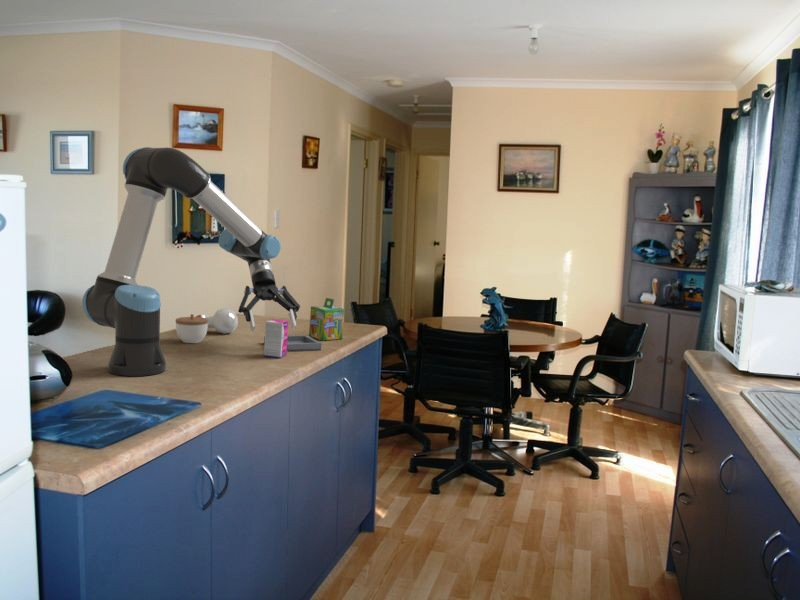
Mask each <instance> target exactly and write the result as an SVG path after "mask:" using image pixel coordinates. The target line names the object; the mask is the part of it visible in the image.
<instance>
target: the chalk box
mask: <svg viewBox="0 0 800 600" xmlns="http://www.w3.org/2000/svg"><path fill="white" fill-rule="evenodd" d="M328 302H329V303H330V304H329V305H328ZM334 302H335V300H334V299H333V298H328V297H326V298H325V300H324V304H323V305H317V306H316V305H315V306H312V305H311V306H310V313H309V315H310V316H309V317H310V318H309V331H308V336H309V337H311V338H313V339H315V340H318V339H319V341H321V340H322V342H325V340H327V341H336V339H339V340H343V333H344V331H343V330H344V329H343V328H344V318H345V317H344V315H345V310H344V308H341V307H339V306H338V307H337V306H334V305H333V304H334Z"/></svg>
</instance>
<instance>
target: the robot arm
mask: <svg viewBox="0 0 800 600" xmlns="http://www.w3.org/2000/svg"><path fill="white" fill-rule="evenodd" d="M122 174H123V175H124V179H125V183H124V188H125V190H126V192H127V195H126V198H125V202H124V205H123V209H122V211H121V212H122V213H121V214H120V215H121V216H120V220H119V222H118V225H117V229H116V232H115V235H114V239H113V243H112V246H111V248H110V253H109V256H108V258H107V259H108V260H107V263H106V266H105V270H104V271H103V272H101V273H100V274H97V276H96V278H95V282H94V284H93V285H92V286H90V287H89V288H87V289H86V291H85V293H84V294H83V297H82V302H81V303H82V305H81V306H82V310H83V312H84V314H85V316H86V317H87V319H88V320H90V321H91V322H92V323H95V324H97V325H98V326H101V327H108V328H111V329H115V331H114V332H115V334H114V335H115V339H114V340H115V341H114V343H115V344H114V346H113V348H112V352H111V355H110V358H109V360H108V367H107V368H108V370H107V371H108V372H109V373H110V374H112V375H115V376H116V375H117V376H125V377H141V376H142V377H144V376H153V375H159V374H161V373H163V372H165V371H166V369H167V364H166V363H167V362H166V358H165V355H164V352H163V350H162V346H161V343H160V342H161V341H160V337H161V336H160V334H161V333H160V332H161V331H160V329H161V328H160V327H161V326H160V325H161V306H162V305H161V304H162V303H161V295H160V293H159V291H158V290H157V289H155V288H153V287H150V286H145V285H141V284H138V282H137V281H136V277H137V274H138V271H139V269H140V268H139V267H140V265H141V264H140V263H141V260H142V257H143V253H144V251H145V246H146V243H147V240H148V238H149V234H150V230H151V226H152V224H153V220H154V216H155V214H156V213H155V212H156V209H157V206H158V203H160V202H161V201H162V200H165V198H166V194H167V191H168V189H171V190H174V191H175V192H178V193H180V194H181V195H183V196H184V198H186V199H188V200H190V199H192V200H193V201H194V202H196V203H197V205H199V206H200V207H201V208H202V209H203V210H204V211H206V213H208V214H209V215H210V216H211V217H212V218H213V219H214V220H215V221H217V223H219V224H220V225H221V226H222V227H224V230H222V232H220V234H219V238H218V246H219V247H220V248H221V249H223V250H224V251H225V252H226V253H230V254H232V255H234V256H235V257H237V258H239V259H241V260H244V261H245V262H247V265H248V269H249V274H250V279H251V284H252V287H250V286H249V285H246V286H245V288H244V291H243V292H244V293H243V294H244V295H243V298H242V300H241V303H240V305H239V306H238V311H237V312H238V313H239V314H241V313H243V316H245V321H246V322H247V323H248V322H249V327H250V332H254V331H255V328H256V324H255V320H254V319H255V318H254V313H253V308H254V307H255V306H256V304H257V303H258V302H259V301H260V300H261V301H274V302H275V303H277V304H279V306H281V307H283V309H285V310H286V311H287V312H288V317H289V323H290V326H291V330H292V331H295V330H296V327H297V322H296V321H297V318H298V316H297V312H299V310H300V308H301V305H300V304H299V303H298V301H296V299H295V298H294V297H293V296H292V295H291V294H290V292H289V291H288V290H287V289H288V288H287V286H285V285H282V287H277V285H276V284H277V283H276V279H275V276H274V270H273V267H272V262H271V260H270V259H275V258H276V257H278V256H279V254H280V252H281V248H282V247H281V245H282V244H281V242H280V239H279V238H278V237H277V236H275V235H272V234H267V233H265V231H264V230H262V228H260V227H259V226H258V225H257V224H256V223H255V222H254V221H253V220H252V219H251V218H250V217H249V216H248V215H247V214H246V213H245V212H244V211H243V210H242V209H241V208H239V206H238V205H236V204H235V202H234V201H232V199H230V198H229V196H227V195H226V194H225V193H224V192H223V191H222V190H221V189H220V188H219V187H218V186H217V185H216V184H215V183H213V181H212V180H211V175H210V174H209V172H208V171H206V170H205V169H204V168H203V167H202V166H201V165H200V164H199V163H198V162H197V161H195V159H193V158H192V157H191V156H189V155H188V154H187V153H185V152H183V151H181V150H179V149H176V148H174V147H168V146H167V147H147V146H145V147H140V148H136V149H135V150H133V151H132V150H131V152H130V153H128V154H127V156H126V157H125V159H124V161H123V164H122ZM252 293H253V295H255V296H254V297H253V298H252V299H251V301H250V302H249V303H248V304H247V305H246V303H247V302H248V301H247V300H248V297H249V296H250V295H251V294H252ZM245 305H246V307H245Z"/></svg>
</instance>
